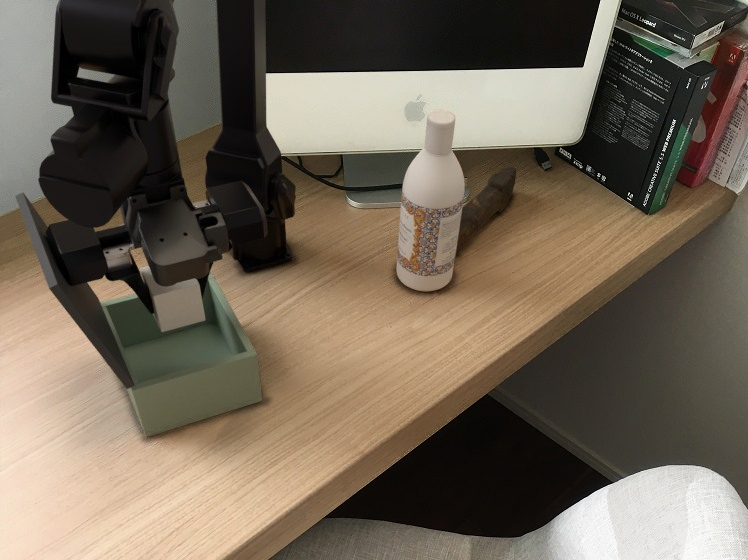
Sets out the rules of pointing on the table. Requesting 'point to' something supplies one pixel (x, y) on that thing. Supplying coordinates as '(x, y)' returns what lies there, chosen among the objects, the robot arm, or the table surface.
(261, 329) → the table surface
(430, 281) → the bath foam
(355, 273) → the table surface
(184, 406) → the open box
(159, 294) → the white block
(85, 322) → the box lid
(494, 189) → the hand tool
